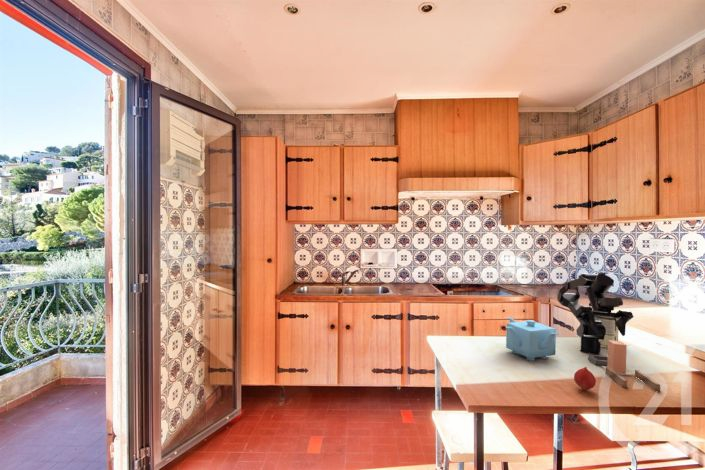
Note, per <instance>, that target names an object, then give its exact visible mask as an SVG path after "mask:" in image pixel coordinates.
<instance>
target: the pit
mask: <svg viewBox="0 0 705 470" xmlns="http://www.w3.org/2000/svg"><path fill="white" fill-rule="evenodd" d="M587 355H588V357H587V359H588V361H590V363H592V364H593V365H594V366H598V367H599V366H600V367H601V366H607V360H608V355H596V354H587Z"/></svg>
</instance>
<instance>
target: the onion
mask: <svg viewBox="0 0 705 470" xmlns="http://www.w3.org/2000/svg"><path fill="white" fill-rule="evenodd" d="M573 375H574V376H573V381H574V382H575V384H576V385H577V386H578V387H579V388H580V389H581V390H583V391H584V392H586V391H589V390H591V389H593V388H594V387H595V386H596V383H597V379H596V377H595V375H594V374H593V372H591V371H590V370H589V369H588V367H587V366H583V367H581V368H580V369H577V370H576V372H574V374H573Z"/></svg>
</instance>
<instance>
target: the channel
mask: <svg viewBox="0 0 705 470" xmlns="http://www.w3.org/2000/svg"><path fill="white" fill-rule="evenodd" d="M604 370H605V369H604ZM605 375H607V376H608V377H609V378H611V379H612V380H613V381H614V382H615V383H617V384H618V385H619V386H620V387H621V388H623V389H628V383H629V382H628V380H627V379H626V378H625V377H623V375H619V374H618V373H616V372H615V371H614V370H612V369H611V368H610V367H606V370H605ZM634 377H635V378H636V377H637V378H639V379H640V380H642V381H643V382H644V383H645V384H644V383H643V382H642V383H643V384H644V385H646V384H647V385H648V386H647V385H646V386H647V387H649V386H650V387H651V388H652V390H653V389H654V390H655V391H654V390H653V391H654V392H656V391H658V393H661V384H660V382H657V381H656V380H654V379H653V378H651V377H650V376H649V375H647V374H645V373H643V372H642V371H640V369H639V370H638V369H635V370H634ZM637 378H636V379H637ZM639 379H638V380H639ZM640 380H639V381H640ZM650 387H649V388H650ZM651 388H650V389H651Z"/></svg>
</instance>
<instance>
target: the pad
mask: <svg viewBox="0 0 705 470" xmlns="http://www.w3.org/2000/svg"><path fill="white" fill-rule="evenodd" d="M600 367H601V368H602V369H603V370H606V367H607V366H600ZM616 373H618V374H619V375H620V376H628V375H629V376H628V377H632V376H633V374H632V373H631V372H629V371H627V370H626V373H620V372H616Z"/></svg>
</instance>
